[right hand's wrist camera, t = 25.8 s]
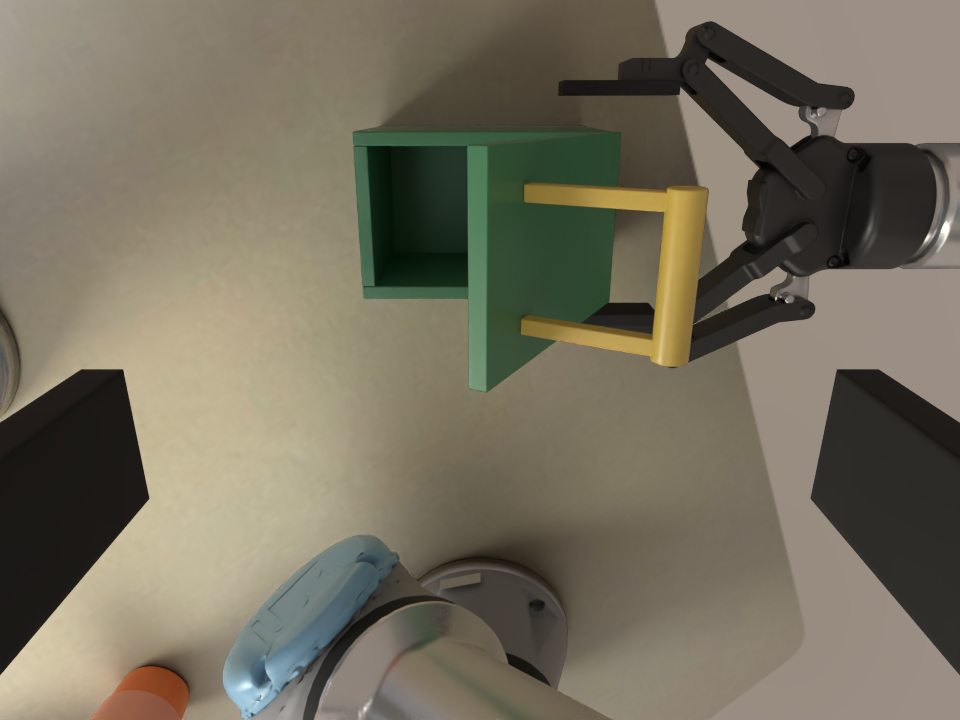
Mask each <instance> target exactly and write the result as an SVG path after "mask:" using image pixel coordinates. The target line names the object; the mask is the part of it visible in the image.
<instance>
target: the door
mask: <svg viewBox="0 0 960 720" xmlns="http://www.w3.org/2000/svg"><path fill="white" fill-rule="evenodd" d="M620 142H621V132H599V133H588V134H577V135H567V136H556V137H545V138H534V139H523V140H512V141H501V142H490V143H479V144H469V145H468V146H467V168H468V330H469V389H473V390H477V391H482V392H488V391H490V390H491V389H492V388H494V387H495V386H496V385H498V384H499V383H500V382H502V381H503V380H504V379H506V378H507V377H508V376H510V375H511V374H512V373H514V372H515V371H517V370H518V369H519V368H521V367H522V366H523V365H525V364H526V363H527V362H529V361H530V360H531V359H533V358H534V357H535V356H537V355H538V354H539V353H541V352H542V351H543V350H545V349H546V348H548V347H549V346H550V345H552V344H553V343H554V342H556V341H563V342H568V343H574V344H580V345H586V346H592V347H598V348H604V349H610V350H616V351H621V352H627V353H633V354H639V355H645V356H650V358H651V360H652V361H653V362H654V363H656V364H659V365H663V366H670V367H677V366H683V365H686V364H687V363H688V361H689V353H690V344H691V336H692V328H693V319H694V311H695V302H696V294H697V286H698V277H699V269H700V260H701V252H702V244H703V235H704V227H705V218H706V210H707V201H708V193H709V190H708V188H705V187H700V186H670V187H668V188H667V190H659V189H641V188H623V187H617V184H618V170H619V156H620ZM616 209H627V210H641V211H655V212H664V222H663V232H662V242H661V253H660V263H659V273H658V283H657V294H656V304H655V314H654V325H653V334H647V333H641V332H634V331H628V330H621V329H615V328H609V327H602V326H596V325H589V324H583V323H581V322H583V321H584V320H585V319H587V318H588V317H589V316H591V315H592V314H593V313H595V312H596V311H597V310H599V309H600V308H601V307H603V306H604V305H606V304H607V303H608V302H609V296H610V282H611V268H612V254H613V240H614V226H615V212H616Z"/></svg>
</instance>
